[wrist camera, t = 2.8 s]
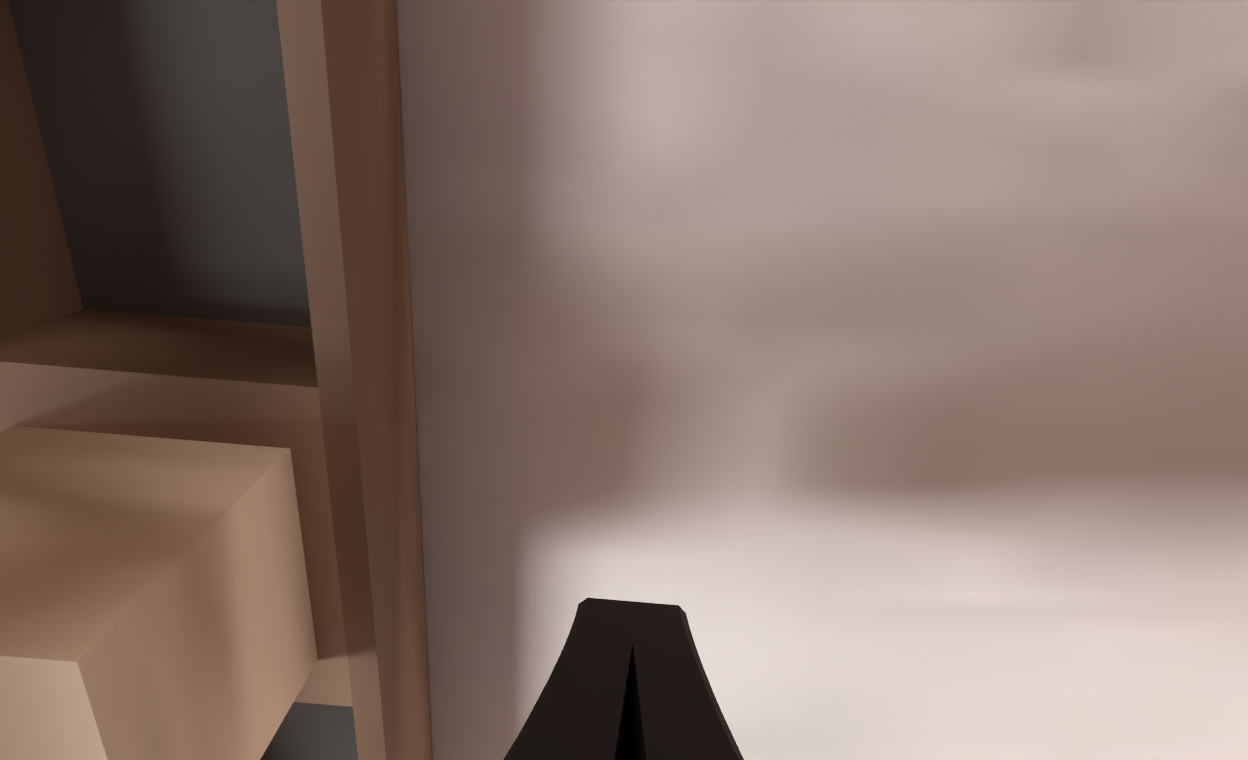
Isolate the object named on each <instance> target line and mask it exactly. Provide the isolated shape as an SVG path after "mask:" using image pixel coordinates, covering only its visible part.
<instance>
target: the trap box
mask: <svg viewBox="0 0 1248 760" xmlns="http://www.w3.org/2000/svg"><path fill="white" fill-rule="evenodd" d="M11 426H23V427H35V428H47V429H59V430H72V431H84V432H96V433H108V434H120V435H132V436H144V437H156V438H169V439H181V440H193V441H205V442H217V443H229V444H241V445H253V446H266V447H278V448H290V450H291V458H292V465H293V473H294V481H295V488H296V496H297V504H298V511H299V519H300V527H301V534H302V542H303V550H304V557H305V565H306V573H307V580H308V588H309V596H310V603H311V611H312V619H313V626H314V634H315V642H316V649H317V657H318V661H317V663H316V664H315V666H314V668H313V669H312V671H311V673H310V675H309V676H308V678H307V680H306V682H305V683H304V685H303V687H302V688H301V690H300V692H299V694H298V695H297V697H296V699H295V701H294V702H293V704H292V706H291V707H290V709H289V711H288V713H287V714H286V716H285V718H284V719H283V721H282V723H281V725H280V726H279V728H278V730H277V732H276V733H275V735H274V737H273V738H272V740H271V742H270V744H269V745H268V747H267V749H266V751H265V752H264V754H263V756H262V757H261V759H260V760H433V758H432V738H431V717H430V696H429V676H428V655H427V634H426V614H425V593H424V572H423V552H422V531H421V510H420V490H419V469H418V448H417V428H416V407H415V386H414V366H413V345H412V324H411V304H410V283H409V262H408V242H407V221H406V200H405V180H404V159H403V138H402V118H401V97H400V76H399V56H398V35H397V14H396V0H0V432H2V431H4V430H6V429H8V428H9V427H11Z"/></svg>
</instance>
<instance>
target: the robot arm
mask: <svg viewBox="0 0 1248 760" xmlns="http://www.w3.org/2000/svg"><path fill="white" fill-rule="evenodd" d="M504 760H744V759H743V757H742V755H741V753H740V751H739V749H738V746H737V744H736V742H735V740H734V738H733V736H732V733H731V731H730V729H729V727H728V725H727V723H726V721H725V718H724V716H723V714H722V712H721V710H720V707H719V705H718V703H717V700H716V698H715V696H714V693H713V691H712V688H711V686H710V683H709V681H708V678H707V676H706V673H705V671H704V668H703V666H702V663H701V660H700V658H699V655H698V652H697V649H696V646H695V643H694V641H693V637H692V634H691V631H690V628H689V624H688V620H687V616H686V613H685V612H684V611H683V610H682V609H681V608H680V606H678V605H666V604H654V603H643V602H631V601H619V600H607V599H595V598H587V599H585V600H584V601H582V602H581V603H579V605H578V609H577V612H576V616H575V619H574V622H573V625H572V628H571V631H570V633H569V636H568V638H567V641H566V643H565V645H564V648H563V650H562V652H561V655H560V657H559V659H558V661H557V663H556V665H555V667H554V669H553V672H552V674H551V676H550V678H549V680H548V682H547V684H546V685H545V687H544V689H543V691H542V693H541V695H540V697H539V699H538V700H537V702H536V704H535V706H534V708H533V710H532V712H531V713H530V715H529V717H528V719H527V721H526V723H525V725H524V726H523V728H522V730H521V732H520V733H519V735H518V737H517V739H516V740H515V742H514V743H513V745H512V747H511V748H510V750H509V752H508V753H507V755H506V756H505V758H504Z"/></svg>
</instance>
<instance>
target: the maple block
mask: <svg viewBox="0 0 1248 760" xmlns="http://www.w3.org/2000/svg"><path fill="white" fill-rule="evenodd" d="M317 661H318V657H317V649H316V642H315V634H314V626H313V619H312V611H311V603H310V596H309V588H308V580H307V573H306V565H305V557H304V550H303V542H302V534H301V527H300V519H299V511H298V504H297V496H296V488H295V481H294V473H293V465H292V458H291V450H290V448H278V447H266V446H253V445H241V444H229V443H217V442H205V441H193V440H181V439H169V438H156V437H144V436H132V435H120V434H108V433H96V432H84V431H72V430H59V429H47V428H35V427H23V426H11V427H9V428H8V429H6V430H4V431H2V432H0V760H260V759H261V757H262V756H263V754H264V752H265V751H266V749H267V747H268V745H269V744H270V742H271V740H272V738H273V737H274V735H275V733H276V732H277V730H278V728H279V726H280V725H281V723H282V721H283V719H284V718H285V716H286V714H287V713H288V711H289V709H290V707H291V706H292V704H293V702H294V701H295V699H296V697H297V695H298V694H299V692H300V690H301V688H302V687H303V685H304V683H305V682H306V680H307V678H308V676H309V675H310V673H311V671H312V669H313V668H314V666H315V664H316V663H317Z"/></svg>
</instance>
